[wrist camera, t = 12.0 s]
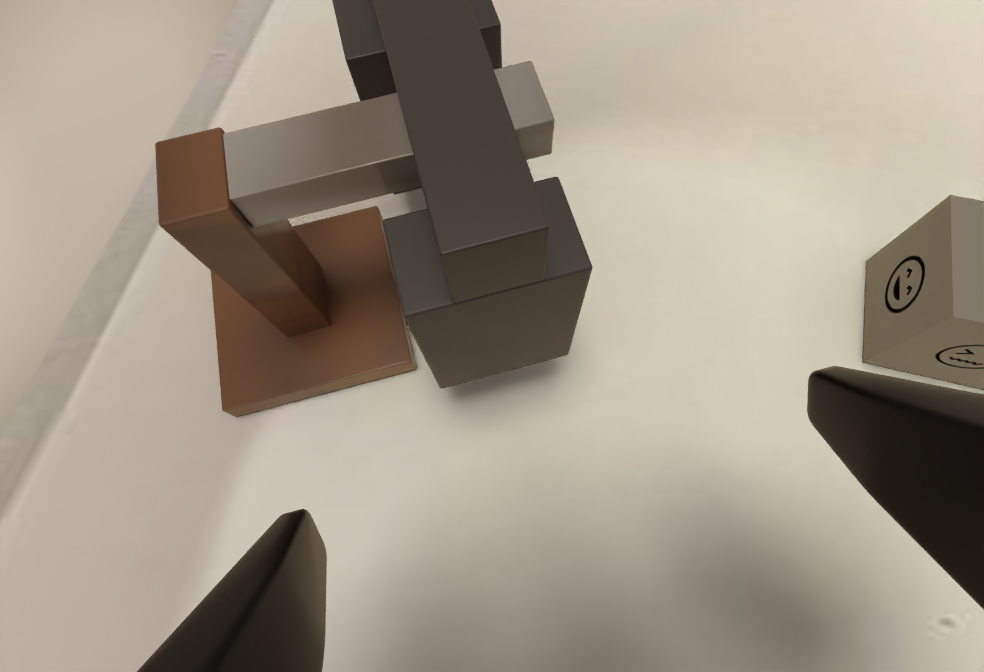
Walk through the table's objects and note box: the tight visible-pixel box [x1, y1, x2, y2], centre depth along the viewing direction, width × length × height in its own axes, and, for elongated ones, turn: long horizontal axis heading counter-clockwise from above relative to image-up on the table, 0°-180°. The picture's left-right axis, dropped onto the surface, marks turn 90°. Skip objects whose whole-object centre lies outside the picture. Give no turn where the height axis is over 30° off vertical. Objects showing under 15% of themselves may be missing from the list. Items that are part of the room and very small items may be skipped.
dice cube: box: [863, 195, 984, 390], centre depth 21 cm, size 5×5×5 cm
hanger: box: [155, 61, 554, 417], centre depth 20 cm, size 14×8×10 cm, turn 105°
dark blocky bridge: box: [332, 0, 592, 388], centre depth 18 cm, size 12×5×10 cm, turn 15°
